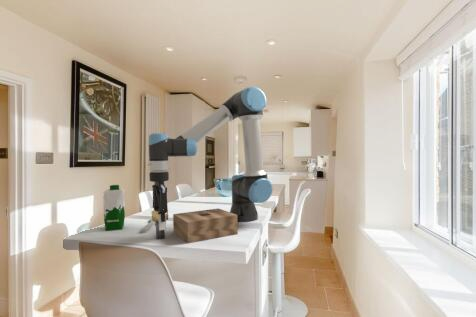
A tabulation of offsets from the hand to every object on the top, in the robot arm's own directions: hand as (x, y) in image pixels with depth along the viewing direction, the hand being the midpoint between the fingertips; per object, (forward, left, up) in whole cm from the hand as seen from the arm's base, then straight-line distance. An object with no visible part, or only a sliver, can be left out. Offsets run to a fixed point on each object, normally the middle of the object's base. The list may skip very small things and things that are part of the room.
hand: (160, 227), depth 113 cm
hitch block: (-18, +4, -4) cm, 19 cm away
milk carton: (+14, -28, -4) cm, 32 cm away
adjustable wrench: (-1, -23, -5) cm, 24 cm away
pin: (0, 0, -4) cm, 4 cm away
